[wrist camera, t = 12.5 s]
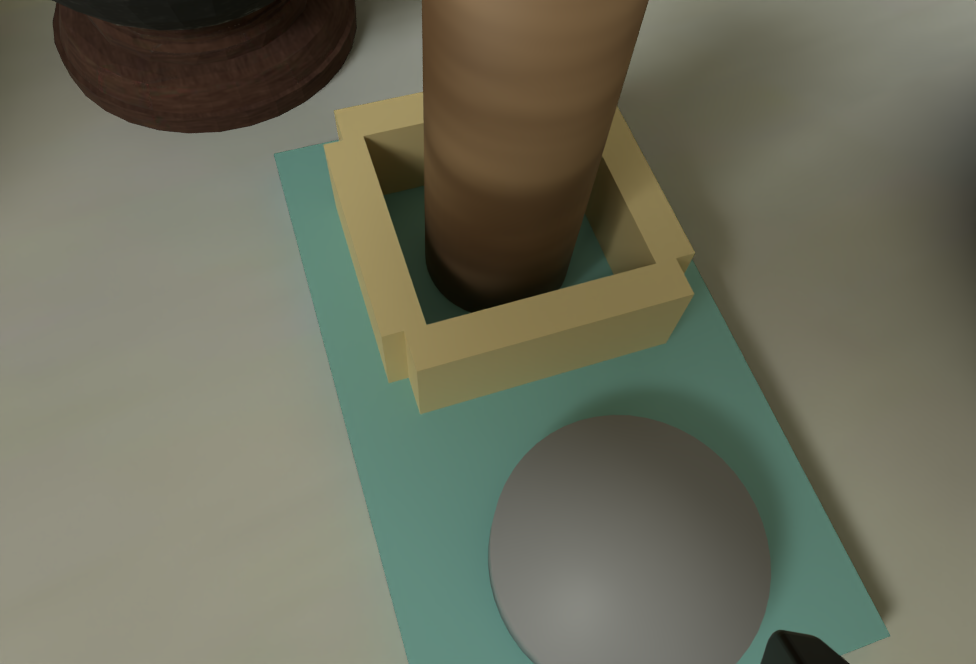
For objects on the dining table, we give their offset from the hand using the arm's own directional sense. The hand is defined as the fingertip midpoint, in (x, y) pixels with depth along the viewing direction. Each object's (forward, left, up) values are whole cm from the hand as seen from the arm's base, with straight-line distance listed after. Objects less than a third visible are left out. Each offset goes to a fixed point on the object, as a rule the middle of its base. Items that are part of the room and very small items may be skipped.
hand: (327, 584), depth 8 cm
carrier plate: (+7, -6, -14) cm, 16 cm away
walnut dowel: (+11, -6, -13) cm, 18 cm away
